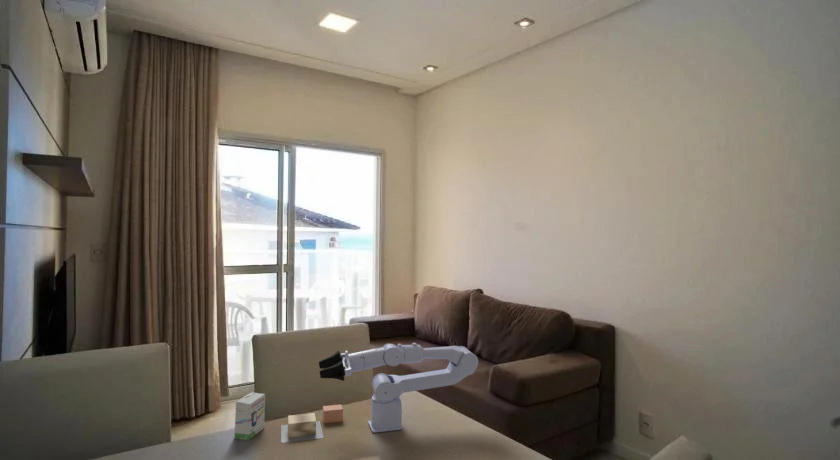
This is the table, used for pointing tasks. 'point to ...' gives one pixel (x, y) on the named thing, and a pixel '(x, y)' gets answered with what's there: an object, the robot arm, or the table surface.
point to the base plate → (300, 438)
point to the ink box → (249, 416)
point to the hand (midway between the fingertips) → (319, 369)
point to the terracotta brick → (332, 413)
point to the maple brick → (301, 425)
